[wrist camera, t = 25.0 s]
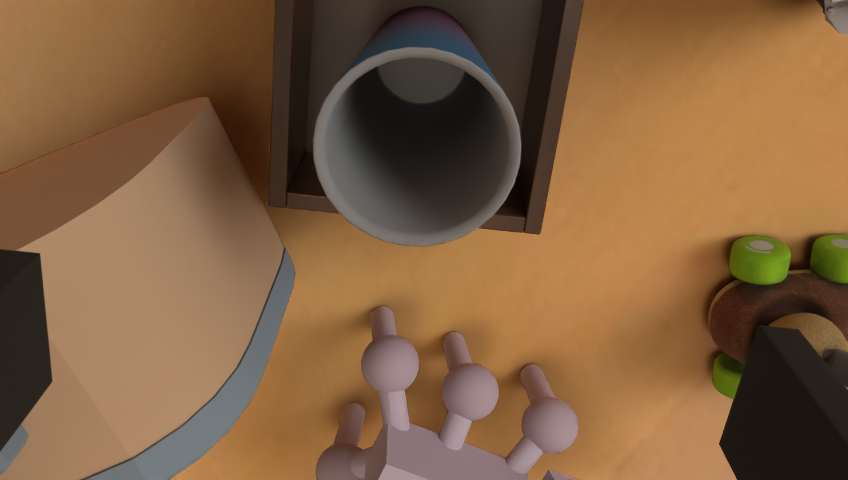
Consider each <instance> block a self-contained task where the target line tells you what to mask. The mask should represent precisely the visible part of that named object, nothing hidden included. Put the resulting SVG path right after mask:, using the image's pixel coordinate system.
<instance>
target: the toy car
mask: <svg viewBox="0 0 848 480" xmlns="http://www.w3.org/2000/svg"><path fill="white" fill-rule="evenodd" d="M790 259H791V252H790V249H789V248H788V247H787V245H785V244H784V243H782V242H780V241H778V240H775V239H772V238H768V237H763V236H747V237H742V238H739V239H737V240H736V241H735V242H734V243H733V245H732V249H731V255H730V261H729V270H730V272H731V274H732V275H733V276H735V277H736V278H738V280H735V281H733V282H731V283H729V284H728V285H726V286H725V287H724V288H722V289H721V290H720V291H719V292H718V294H717V295H716V296H715V298H714V299H713V301H712V303H711V306H710V309H709V314H708V326H709V330H710V333H711V335H712V338H713V340H714V342H715V343H716V344H717V346H718V347H719V348H720V349H721V350H722V351H724V353H722V354H720V355H719V356H717V358H716V359H715V361H714V367H713V374H712V383H713V385H714V387H715V388H716V390H718V391H719V392H720V393H722V394H723V395H725V396H727V397H730V398H733V399H734V397H735V394H736V391H737V388H738V385H739V382H740V379H741V376H742V373H743V370H744V367H745V364H746V361H747V358H748V354H749V351H750V348H751V345H752V342H753V339H754V336H755V333H756V330H757V327H758V325H761V326H771V327H781V328H791V329H799V331H800V332H801V333H802V334H803V335H804V337H805V338H806V339H807V340H808V342H809V343H810V344H811V345H812V347H813V348H814V349H815V350H816V351H817V353H818V354H819V355H820V356H821V358H822V359H823V360H824V361H825V362H826V364H827V365H828V366H829V367H830V369H831V370H832V371H833V372H834V373H835V375H836V376H837V377H838V378H839V380H840V381H841V382H842V383H843V385H844V386H845V387H846V388H847V389H848V236H847V235H841V234H831V235H825V236H821V237H819V238H817V239H816V240H815V241H814V243H813V247H812V253H811V258H810V267H811V270H788V269H789V264H790Z"/></svg>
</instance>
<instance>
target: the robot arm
mask: <svg viewBox="0 0 848 480" xmlns="http://www.w3.org/2000/svg"><path fill="white" fill-rule="evenodd" d="M52 382H53V381H52V370H51V360H50V350H49V339H48V329H47V319H46V309H45V298H44V288H43V278H42V267H41V257H40V253H34V252H24V251H14V250H4V249H0V452H1V450H2V449H3V448H4V446H5V445H6V444H7V442H8V441H9V440H10V438H11V437H12V435H13V434H14V433H15V431H16V430H17V429H18V427H19V426H20V425H21V423H22V422H23V421H24V419H25V418H26V417H27V415H28V414H29V413H30V411H31V410H32V409H33V407H34V406H35V405H36V403H37V402H38V400H39V399H40V398H41V396H42V395H43V394H44V392H45V391H46V390H47V388H48V387H49V386H50V384H51V383H52ZM719 445H720V447H721V449H722V451H723V453H724V455H725V457H726V459H727V461H728V462H729V464H730V466H731V468H732V470H733V472H734V474H735V476H736V478H737V480H848V389H847V388H846V387H845V386H844V385H843V383H842V382H841V381H840V380H839V378H838V377H837V376H836V375H835V373H834V372H833V371H832V370H831V369H830V367H829V366H828V365H827V364H826V362H825V361H824V360H823V359H822V358H821V356H820V355H819V354H818V353H817V351H816V350H815V349H814V348H813V347H812V345H811V344H810V343H809V342H808V340H807V339H806V338H805V337H804V335H803V334H802V333H801V332H800V331H799V329H791V328H781V327H771V326H761V325H758V327H757V330H756V333H755V336H754V339H753V342H752V345H751V348H750V351H749V354H748V358H747V361H746V364H745V367H744V370H743V373H742V376H741V379H740V382H739V385H738V388H737V391H736V394H735V397H734V400H733V403H732V406H731V409H730V413H729V416H728V419H727V422H726V425H725V428H724V431H723V434H722V437H721V440H720V443H719Z"/></svg>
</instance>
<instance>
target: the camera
mask: <svg viewBox="0 0 848 480" xmlns="http://www.w3.org/2000/svg"><path fill="white" fill-rule="evenodd" d="M817 1H818V3H819V4H820V5H821V7H822V8H823V13H824V14H825V20H826V21H827V22H828V23H830V24H831V25H832V26H833V27H834V28H835V29H836V30H837V31H838V32H839V33H843V34H847V35H848V0H817Z"/></svg>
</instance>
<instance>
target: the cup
mask: <svg viewBox="0 0 848 480" xmlns="http://www.w3.org/2000/svg"><path fill="white" fill-rule="evenodd" d="M521 145H522V144H521V137H520V129H519V124H518V121H517V118H516V115H515V112H514V109H513V106H512V105H511V103H510V101H509V100H508V98H507V96H506V95H505V93H504V91H503V90H502V88H501V86H500V85H499V83H498V82H497V80H496V78H495V77H494V75H493V74H492V72H491V71H490V69H489V67H488V66H487V64H486V63H485V61H484V60H483V58H482V56H481V55H480V53H479V52H478V50H477V49H476V47H475V45H474V44H473V42H472V41H471V39H470V38H469V36H468V34H467V33H466V31H465V30H464V28H463V27H462V25H461V24H460V23H459V22H458V21H457V20H456V19H455V18H454V17H452V16H451V15H450V14H448V13H447V12H444V11H442V10H440V9H438V8H434V7H429V6H415V7H409V8H406V9H403V10H401V11H398V12H397V13H395V14H394V15H392V16H391V17H389V18H388V19H387V20H386V21H385V22H384V23H383V25H382V26H381V27H380V28H379V30H378V31H377V32H376V33H375V34H374V36H373V37H372V38H371V39H370V41H369V42H368V43H367V44H366V46H365V47H364V48H363V49H362V51H361V52H360V53H359V54H358V56H357V57H356V58H355V59H354V61H353V62H352V63H351V64H350V66H349V67H348V68H347V69H346V71H345V72H344V73H343V74H342V76H341V77H340V78H339V79H338V81H337V82H336V83H335V85H334V86H333V88H332V89H331V91H330V92H329V94H328V95H327V97H326V98H325V100H324V101H323V104H322V106H321V109H320V111H319V114H318V116H317V119H316V123H315V129H314V135H313V160H314V164H315V168H316V172H317V176H318V179H319V181H320V183H321V186H322V188H323V190H324V192H325V194H326V196H327V197H328V199H329V200H330V201H331V203H332V204H333V206H334V207H335V208H336V210H337V211H338V212H339V213H340V214H341V215H342V216H343V217H344V218H346V219H347V220H348V221H349V222H350V223H351V224H352V225H354V226H355V227H357V228H358V229H360V230H361V231H363V232H365V233H366V234H368V235H370V236H372V237H375V238H377V239H380V240H382V241H385V242H388V243H393V244H398V245H403V246H431V245H437V244H444V243H447V242H449V241H452V240H455V239H458V238H461V237H463V236H465V235H467V234H468V233H470V232H472V231H474V230H475V229H477V228H479V227H480V226H481V225H482V224H484V223H485V222H486V221H487V220H488V219H490V218H491V217H492V216H493V215H494V214H495V213H496V211H497V210H498V209H499V208H500V206H501V205H502V204H503V203H504V201H505V200H506V198H507V197H508V195H509V193H510V191H511V189H512V187H513V185H514V183H515V180H516V176H517V173H518V169H519V166H520V158H521Z"/></svg>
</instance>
